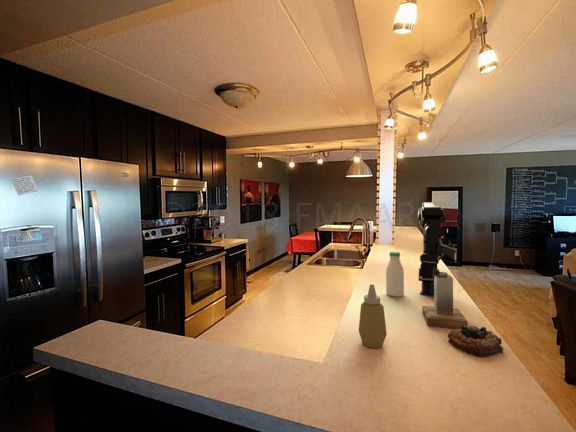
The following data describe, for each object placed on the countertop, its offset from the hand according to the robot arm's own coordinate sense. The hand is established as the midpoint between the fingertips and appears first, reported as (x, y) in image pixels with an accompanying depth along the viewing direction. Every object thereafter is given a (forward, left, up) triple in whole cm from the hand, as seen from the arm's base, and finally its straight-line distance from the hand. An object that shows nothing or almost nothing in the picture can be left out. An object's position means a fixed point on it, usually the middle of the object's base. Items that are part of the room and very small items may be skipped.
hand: (432, 276), depth 112 cm
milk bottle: (-11, -17, -13) cm, 24 cm away
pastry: (+28, +14, -14) cm, 34 cm away
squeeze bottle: (+42, -11, -13) cm, 45 cm away
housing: (+12, +5, -10) cm, 16 cm away
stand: (+12, +5, -13) cm, 18 cm away
